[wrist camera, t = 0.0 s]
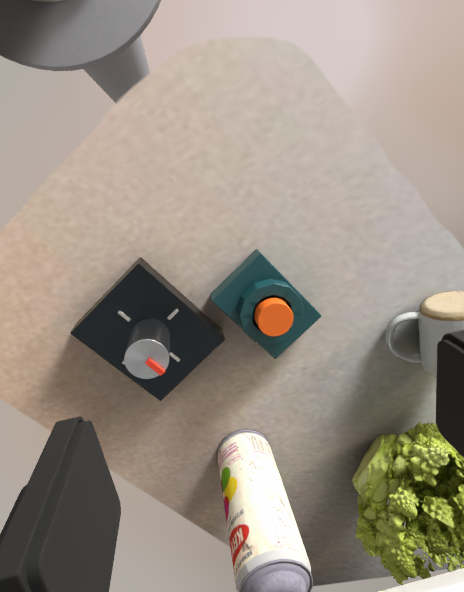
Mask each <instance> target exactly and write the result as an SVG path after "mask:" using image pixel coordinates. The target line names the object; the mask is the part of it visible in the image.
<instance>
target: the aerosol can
mask: <svg viewBox="0 0 464 592" xmlns="http://www.w3.org/2000/svg"><path fill="white" fill-rule="evenodd" d="M217 459H218V466H219V472H220V479H221V486H222V493H223V500H224V507H225V514H226V520H227V527H228V534H229V541H230V548H231V554H232V561H233V568H234V575H235V582H236V588H237V591H238V592H311V589H312V587H313V577H312V574H311V566H310V563H309V560H308V557H307V554H306V551H305V548H304V545H303V542H302V539H301V536H300V533H299V530H298V527H297V524H296V521H295V518H294V515H293V512H292V510H291V507H290V504H289V501H288V498H287V495H286V492H285V489H284V486H283V483H282V480H281V477H280V474H279V471H278V468H277V465H276V462H275V459H274V457H273V454H272V451H271V448H270V445H269V442H268V440H267V438H266V437H265V436H264V435H263V434H261V433H259V432H257V431H255V430H248V429H245V430H238V431H236V432H233V433H231V434H229V435H228V436H227V437H225V438H224V439H223V440H222V442H221V443H220V445H219V447H218V450H217Z"/></svg>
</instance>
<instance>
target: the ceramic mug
mask: <svg viewBox="0 0 464 592" xmlns="http://www.w3.org/2000/svg"><path fill="white" fill-rule="evenodd" d="M411 319H418V324H419V333H420V354H419V355H415V354H408V353H404V352H401V351H399V350H397V349H396V348H395V347H394V345H393V334H394V332H395V328H396V327H397V325H398V324H400V323H402V322H403V321H408V320H411ZM461 330H464V292H462V291H454V292H445V293H440V294H436V295H434V296H431V297H429V298H428V299H426V300H425V301H424V302H423V303H422V304H421V306H420V310H419V311H418V312H408V313H405V314H402V315H399V316H397V317H396V318H394V319H393V320H392V321H391V322H390V324H389V325H388V327H387V330H386V340H387V345H388V348H389V350H390V351H391V352H392V353H393V354H394V355H395V356H397V357H399V358H401V359H403V360H406V361H410V362H418V363H421V365H422V367H423V368H424V370H425V371H426V372H428V373H429V374H431V375H432V376H435V377H437V344H438V342H439V341H441V340H442V337H443V335H445V334H447V333H452V332H456V331H461Z"/></svg>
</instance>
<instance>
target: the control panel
mask: <svg viewBox="0 0 464 592" xmlns="http://www.w3.org/2000/svg"><path fill="white" fill-rule="evenodd" d="M145 319H155V320H158V321H160V322H162V323H163V324H164V325H165V326H166V327H167V328H168V330H169V333H170V351H169V364H168V367H167V369H166V370H165V373H163V374H162V375H161V376H160V375H159V376H157V377H155V378H151V379H142V378H138V377H136V376H134V375H133V374H131V373H130V372H129V371H128V369H127V368H126V366H125V362H124V356H125V352H126V348H127V344H128V341H129V337H130V333H131V330H132V328H133V327H134V326H135V324H137V323H138V322H140V321H142V320H145ZM71 334H72V335H73V336H75V337H76V338H77V339H79V340H80V341H81V342H83V343H84V344H85V345H87V346H88V347H89V348H91V349H92V350H93V351H95V352H96V353H97V354H99V355H100V356H101V357H103V358H104V359H105V360H107V361H108V362H109V363H111V364H112V365H113V366H115V367H116V368H117V369H119V370H120V371H121V372H123V373H124V374H125V375H127V376H128V377H129V378H130V379H132V380H133V381H134V382H136V383H137V384H138V385H140V386H141V387H142V388H144V389H145V390H146V391H148V392H149V393H150V394H152V395H153V396H154V397H156V398H157V399H158V400H160V401H161V400H162V399H163V398H164V397H165V396H166V395H167V394H168V393H169V392H170V391H171V390H172V389H174V388H175V387H176V386H177V385H178V384H179V383H180V382H181V381H182V380H183V379H184V378H185V377H186V376H187V375H188V374H189V373H190V372H191V371H192V370H193V369H194V368H196V367H197V366H198V365H199V364H200V363H201V362H202V361H203V360H204V359H205V358H206V357H207V356H208V355H209V354H210V353H211V352H212V351H213V350H214V349H215V348H217V347H218V346H219V345H220V344H221V343H222V342H223V341H224V340H225V337H224V334H223V331H222V329H221V328H220V327H218V326H217V325H216V324H215V323H214V322H213V321H212V320H211V319H209V318H208V317H207V316H206V315H205V314H204V313H203V312H202V311H201V310H199V309H198V308H197V307H196V306H195V305H194V304H193V303H192V302H190V301H189V300H188V299H187V298H186V297H185V296H184V295H183V294H181V293H180V292H179V291H178V290H177V289H176V288H175V287H174V286H172V285H171V284H170V283H169V282H168V281H167V280H166V279H165V278H164V277H162V276H161V275H160V274H159V273H158V272H157V271H156V270H155V269H153V268H152V267H151V266H150V265H149V264H148V263H147V262H146V261H144V260H143V259H142V258H141V257H140V258H139V259H138V260H137V261H136V262H135V263H134V264H133V265H132V267H131V268H130V269H129V270H128V271H127V272H126V273H125V274H124V275H123V276H122V277H121V278H120V279H119V280H118V281H117V282H116V283H115V284H114V285H113V286H112V287H111V288H110V289H109V290H108V291H107V292H106V293H105V294H104V295H103V296H102V298H101V299H100V300H99V301H98V302H97V303H96V304H95V305H94V306H93V307H92V308H91V309H90V310H89V311H88V312H87V313H86V314H85V315H84V316H83V317H82V318H81V319H80V320H79V321H78V322H77V323H76V325H75V326H74V328H73V330H72V331H71Z"/></svg>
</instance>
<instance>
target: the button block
mask: <svg viewBox="0 0 464 592" xmlns="http://www.w3.org/2000/svg"><path fill="white" fill-rule="evenodd" d="M210 295H211V299H212V302H213V303H215V304H216V305H217V306H218V307H219V308H220V309H221V310H222V311H223V312H224V313H226V314H227V315H228V316H229V317H230V318H231V319H232V320H233V321H234V322H235V323H236V324H238V325H239V326H240V327H241V328H242V329H243V330H244V332H245V333H246V334H247V335H248V336H249V337H251V338H252V339H253V340H254V341H255V342H257V343H258V344H259V345H260V346H262V347H263V348H264V349H265V350H266V351H267V352H268V353H269V354H270V355H271V356H273V357H274V358H275V359H276V358H277V357H278V356H279V355H280V354H281V353H282V352H283V351H284V350H285V349H286V348H288V347H289V346H290V345H291V344H292V343H293V342H294V341H295V340H296V339H297V338H298V337H299V336H301V335H302V334H303V333H304V332H305V331H306V330H307V329H308V328H309V327H310V326H311V325H312V324H314V323H315V322H316V321H317V320H318V319H319V318H320V317H321V315H320V314H319V312H318V311H317V310H316V309H315V308H314V307H313V306H312V305H311V304H310V303H309V302H308V301H307V300H306V299H305V298H304V297H303V296H302V295H301V294H300V293H299V292H298V291H297V290H296V289H295V288H294V287H293V286H292V285H291V284H290V283H289V282H288V281H287V279H286V278H285V277H284V276H283V275H282V274H281V273H280V272H279V271H278V270H277V269H276V268H275V267H274V266H273V265H272V264H271V263H270V262H269V261H268V260H267V259H266V258H265V257H264V256H263V255H262V254H261V253H260V252H259V251H258V250H257V249H256V250H255V251H254V252H253V253H252V254H251V255H250V256H249V257H248V258H247V259H246V260H245V261H244V262H243V263H242V264H241V265H240V266H239V267H238V268H237V269H236V270H235V271H234V272H233V273H232V274H231V275H230V276H229V277H228V278H226V279H225V280H224V281H223V282H222V283H221V284H220V285H219V286H218V287H217V288H216V289H215V290H214V291H213V292H212V293H211V294H210ZM271 297H276V298H280V299H282V300H283V301H284V302H285V303H286V304H287V305H288V306H289V308H290V309H291V311H292V313H293V323H292V326H291V327H290V329H289V330H288V331H287V332H286V333H284V334H282V335H280V336H268V335H266V334H264V333H263V332H262V331H261V330H260V329H259V327H258V325H257V323H256V321H255V310H256V307H257V306H258V304H259V303H260V302H261V301H263V300H265V299H267V298H271Z"/></svg>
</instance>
